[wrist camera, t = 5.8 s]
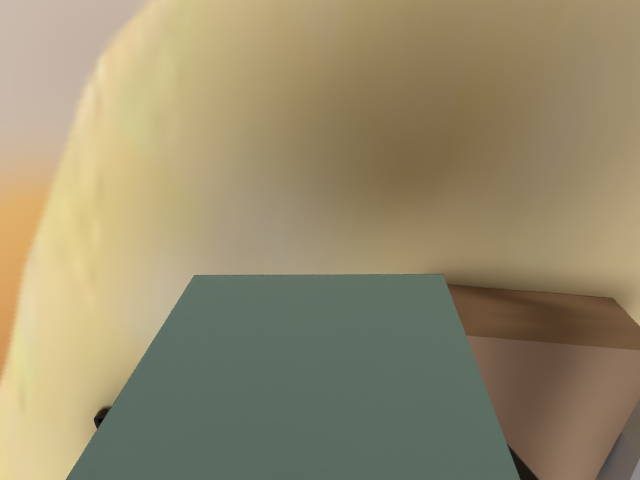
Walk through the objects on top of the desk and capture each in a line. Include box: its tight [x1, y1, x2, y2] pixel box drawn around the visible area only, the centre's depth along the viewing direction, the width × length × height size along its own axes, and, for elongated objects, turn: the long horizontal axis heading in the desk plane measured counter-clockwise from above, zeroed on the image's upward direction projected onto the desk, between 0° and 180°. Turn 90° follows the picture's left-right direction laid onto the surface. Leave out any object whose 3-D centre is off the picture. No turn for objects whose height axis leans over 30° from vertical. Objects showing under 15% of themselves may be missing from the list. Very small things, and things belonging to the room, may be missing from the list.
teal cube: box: [66, 274, 520, 480], centre depth 7 cm, size 5×5×5 cm
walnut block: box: [447, 285, 640, 480], centre depth 20 cm, size 9×9×4 cm
